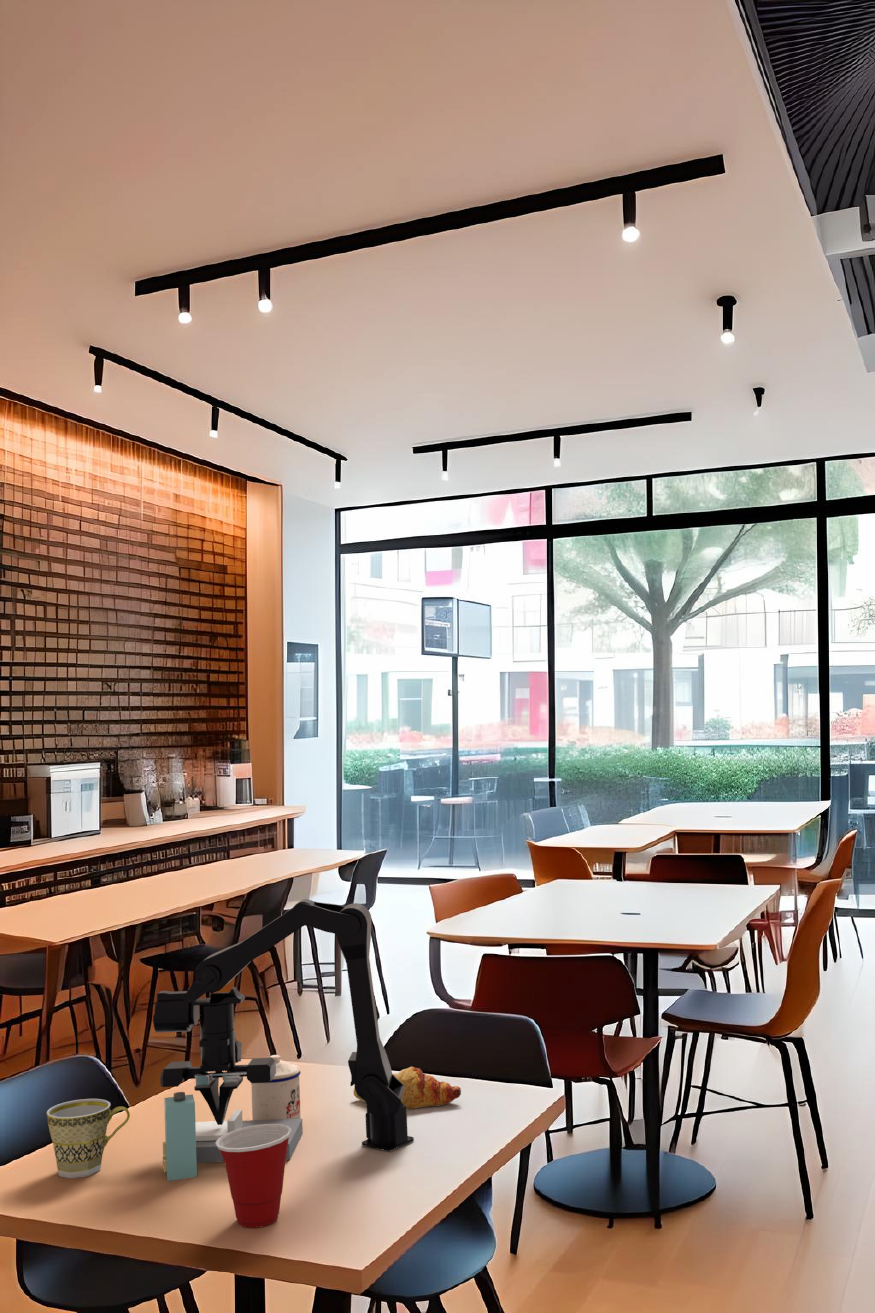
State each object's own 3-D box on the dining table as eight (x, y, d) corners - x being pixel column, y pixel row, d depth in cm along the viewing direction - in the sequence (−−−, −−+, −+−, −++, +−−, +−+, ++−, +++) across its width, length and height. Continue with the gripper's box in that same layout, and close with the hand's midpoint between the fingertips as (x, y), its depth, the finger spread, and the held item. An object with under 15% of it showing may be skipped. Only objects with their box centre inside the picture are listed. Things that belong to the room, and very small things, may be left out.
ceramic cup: (45, 1186, 179) (44, 1121, 180) (49, 1165, 188) (48, 1103, 189) (130, 1174, 182) (129, 1110, 183) (130, 1154, 192) (129, 1093, 193)
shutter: (243, 1125, 196) (243, 1108, 197) (233, 1139, 189) (233, 1122, 189) (194, 1126, 197) (194, 1110, 197) (183, 1141, 189) (182, 1124, 189)
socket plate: (302, 1133, 198) (302, 1118, 199) (289, 1160, 185) (289, 1144, 186) (194, 1137, 199) (194, 1122, 199) (174, 1163, 186) (174, 1148, 186)
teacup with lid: (297, 1130, 201) (294, 1062, 202) (246, 1131, 201) (244, 1063, 202) (308, 1108, 213) (306, 1044, 214) (260, 1110, 213) (258, 1046, 214)
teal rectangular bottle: (194, 1167, 184) (192, 1088, 185) (196, 1176, 180) (194, 1095, 181) (162, 1172, 183) (160, 1092, 184) (164, 1181, 178) (162, 1099, 180)
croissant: (350, 1125, 213) (341, 1092, 210) (363, 1085, 222) (354, 1053, 219) (459, 1126, 208) (452, 1093, 205) (468, 1085, 217) (461, 1053, 214)
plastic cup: (236, 1203, 168) (233, 1120, 169) (305, 1206, 166) (302, 1122, 167) (204, 1234, 158) (202, 1144, 159) (277, 1238, 155) (275, 1147, 156)
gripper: (279, 1016, 202) (283, 1107, 201) (175, 1021, 203) (178, 1111, 201) (267, 1032, 191) (271, 1128, 189) (158, 1037, 191) (161, 1132, 190)
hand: (220, 1124), depth 193 cm, fingers closed
